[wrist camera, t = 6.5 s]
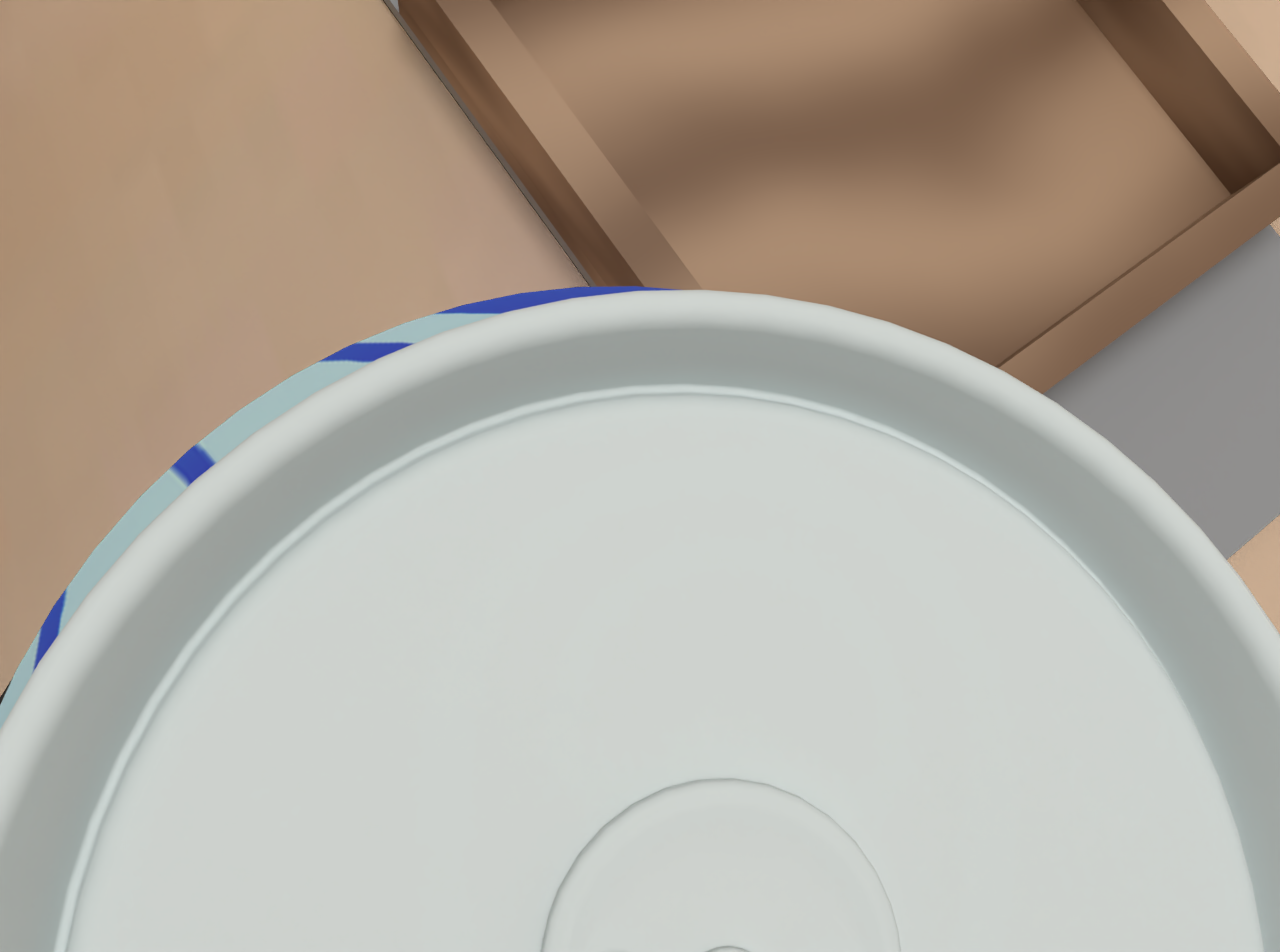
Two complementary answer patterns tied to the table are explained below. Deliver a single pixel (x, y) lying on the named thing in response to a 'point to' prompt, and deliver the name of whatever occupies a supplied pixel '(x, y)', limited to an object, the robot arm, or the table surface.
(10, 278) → the table surface
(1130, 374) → the placemat
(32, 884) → the beer can
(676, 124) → the tray
